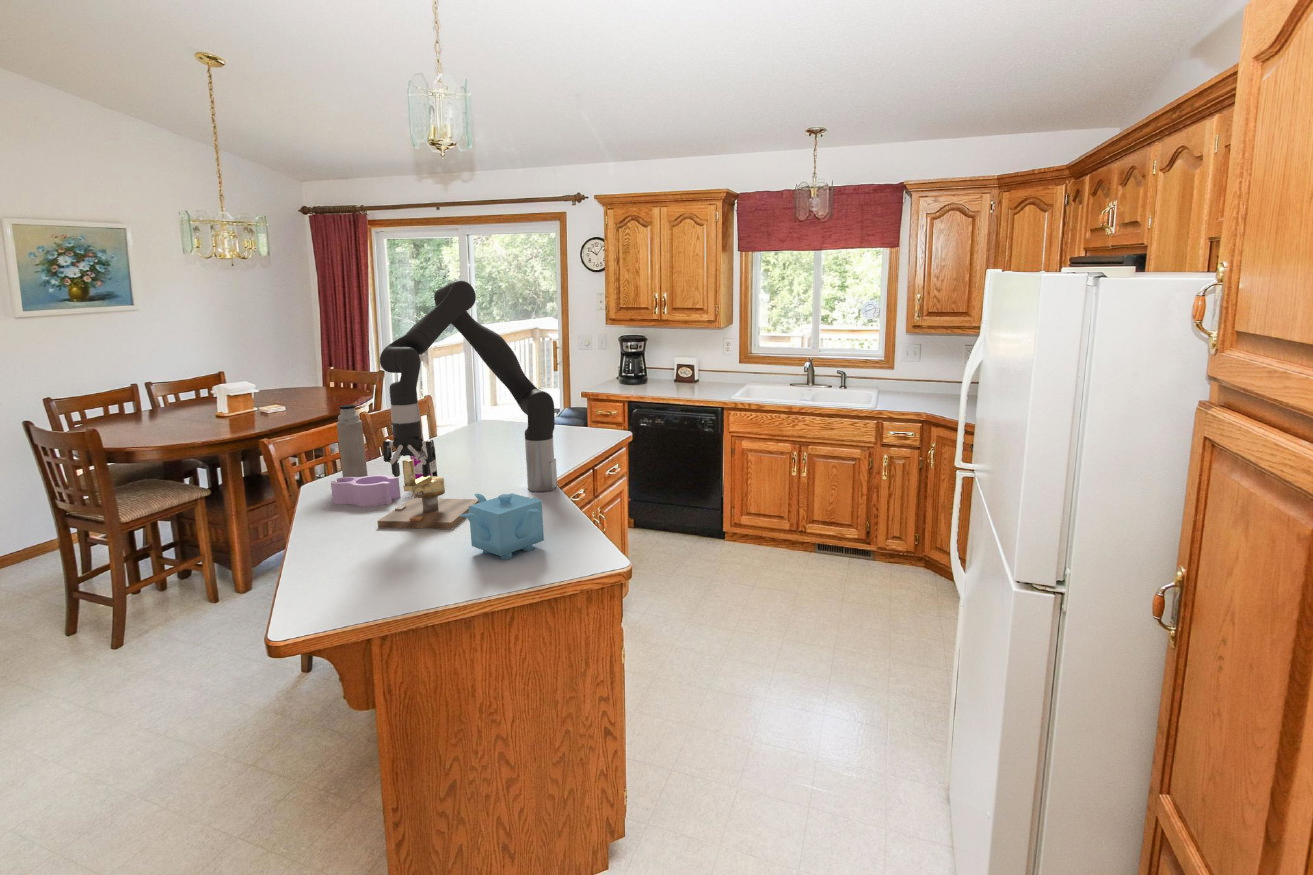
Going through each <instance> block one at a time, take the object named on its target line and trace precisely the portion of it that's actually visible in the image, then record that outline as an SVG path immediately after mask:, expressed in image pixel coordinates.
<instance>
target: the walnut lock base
mask: <svg viewBox="0 0 1313 875" xmlns="http://www.w3.org/2000/svg"><path fill="white" fill-rule="evenodd" d="M477 503H479V500H478V499H477V498H475V499H473V498H439V496H436V497H431V498H418V497H412V498H411V499H409V500H407V501H406V502H404V503H403V504H401V505H398V506H396V507H395V508H394V510H391V512H389V513H388V514H387V513H386V515H384V516H382V517H381V518H380V519H378V520H377V528H379V529H380V528H384V529H385V528H387V529H388V528H390V529H424V530H426V529H427V530H430V529H431V530H453V529H454V528H455V527H456V526H458V525H459V524H460V523H461V522H462V521H463V520H465V519H467V518H466V517H462V516H460V515H462V514H466V513H469V506H471V505H474V504H477Z"/></svg>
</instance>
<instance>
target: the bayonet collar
mask: <svg viewBox="0 0 1313 875" xmlns="http://www.w3.org/2000/svg"><path fill="white" fill-rule="evenodd" d="M401 463H402V471H403V472H402V473H403V479H404V480H403V484H404V485H403V492H412V494H413V495H412V496H413V498H431V497H436V496H437V497H440V496H442V495H444V494H445V493H446V486H445V478H444V477H443V476H438V477H436V476H427V477H423V476H422V477H420V478H418V479H415V469H414V460H412V459H410V458H409V459H404V460H402V462H401Z"/></svg>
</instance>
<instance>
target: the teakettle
mask: <svg viewBox="0 0 1313 875" xmlns="http://www.w3.org/2000/svg"><path fill="white" fill-rule="evenodd" d="M474 496H475V498H476V499H478V500H479V503H477V504H474V505H471V506H469V513H466V514H462V515H460V516H462V517H466V518H465V519H467V520H468V522H469V527H470V529H469V530H470V540H471V543H470V544H471V547H472V548H476V549H478V550H481V551H482V553H483V554H492V555H493V554H494V555H495V556H498V557H500V559H501V560H509V559H512V558H513V553H514V552H516V551H520V550H522V551H524V552H525V551H526V552H530V551H534V550H535V548H534V546H533V545H535V544H538V543H541V542H543V541H545V536H544V517H543V502H542V500H541V499H540V498H537V497H528V496H524V495H520V494H517V493H505V494H500V495H498V497H494V498H491V499H488V500H487V498H486V497H485V496H484V495H483V494H482V493H474Z"/></svg>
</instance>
